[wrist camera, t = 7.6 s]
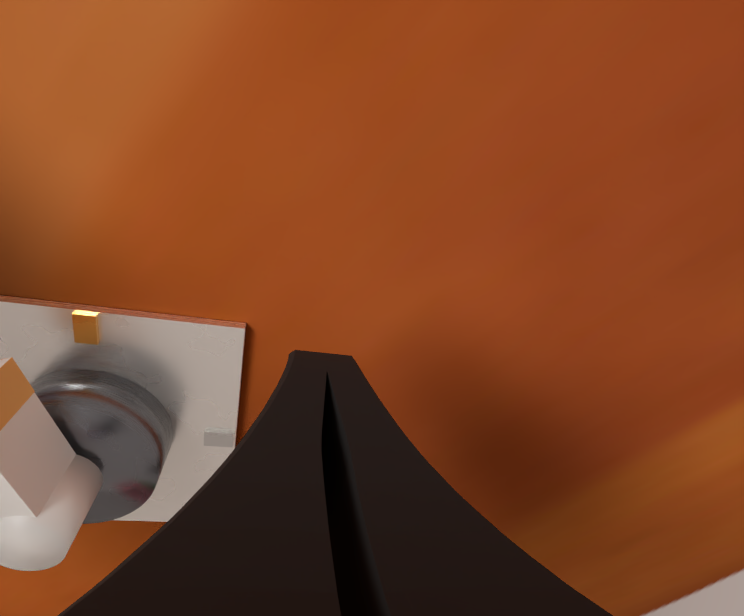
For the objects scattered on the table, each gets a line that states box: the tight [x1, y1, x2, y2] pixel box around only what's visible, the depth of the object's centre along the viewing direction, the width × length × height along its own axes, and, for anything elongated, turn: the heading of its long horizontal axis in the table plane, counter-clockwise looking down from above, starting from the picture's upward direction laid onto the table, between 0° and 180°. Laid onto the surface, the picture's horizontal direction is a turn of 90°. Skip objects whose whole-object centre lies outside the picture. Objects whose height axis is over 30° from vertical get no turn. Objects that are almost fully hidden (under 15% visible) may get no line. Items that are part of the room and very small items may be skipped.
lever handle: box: [0, 357, 103, 571], centre depth 16 cm, size 7×3×3 cm, turn 10°
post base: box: [0, 295, 246, 524], centre depth 21 cm, size 13×13×3 cm
